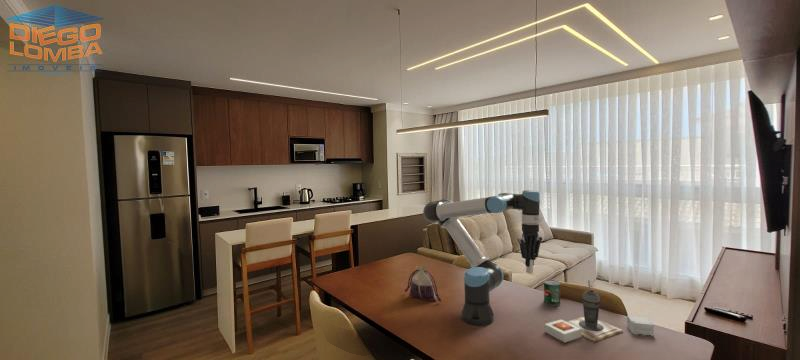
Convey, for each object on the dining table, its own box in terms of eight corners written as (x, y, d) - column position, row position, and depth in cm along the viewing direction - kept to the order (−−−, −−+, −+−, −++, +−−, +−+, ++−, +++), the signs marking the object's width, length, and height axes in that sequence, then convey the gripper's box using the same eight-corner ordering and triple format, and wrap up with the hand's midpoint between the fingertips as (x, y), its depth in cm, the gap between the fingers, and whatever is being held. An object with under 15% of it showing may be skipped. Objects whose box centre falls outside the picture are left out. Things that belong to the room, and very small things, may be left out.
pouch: (399, 297, 189) (398, 264, 188) (407, 292, 196) (406, 260, 195) (439, 305, 176) (438, 270, 175) (446, 300, 183) (445, 266, 182)
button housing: (564, 342, 136) (564, 334, 136) (545, 331, 145) (544, 324, 145) (581, 337, 140) (581, 328, 140) (561, 326, 149) (561, 319, 149)
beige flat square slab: (594, 341, 136) (594, 338, 135) (561, 325, 150) (561, 322, 150) (622, 332, 143) (622, 328, 143) (588, 317, 157) (588, 314, 157)
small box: (647, 328, 146) (647, 317, 145) (654, 337, 138) (654, 325, 138) (626, 326, 148) (626, 314, 148) (632, 334, 141) (631, 322, 141)
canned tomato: (540, 301, 177) (540, 281, 177) (550, 298, 181) (550, 278, 180) (553, 307, 170) (553, 285, 170) (563, 303, 174) (563, 283, 173)
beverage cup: (591, 330, 142) (591, 284, 141) (577, 323, 149) (577, 279, 148) (604, 328, 144) (604, 282, 143) (590, 320, 151) (590, 277, 150)
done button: (563, 334, 139) (563, 329, 138) (552, 328, 144) (552, 324, 144) (573, 331, 141) (573, 326, 141) (562, 326, 146) (561, 321, 146)
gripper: (525, 225, 149) (524, 277, 150) (547, 223, 154) (546, 273, 155) (513, 222, 156) (512, 272, 157) (535, 221, 161) (534, 268, 162)
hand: (529, 272), depth 156 cm, fingers closed
